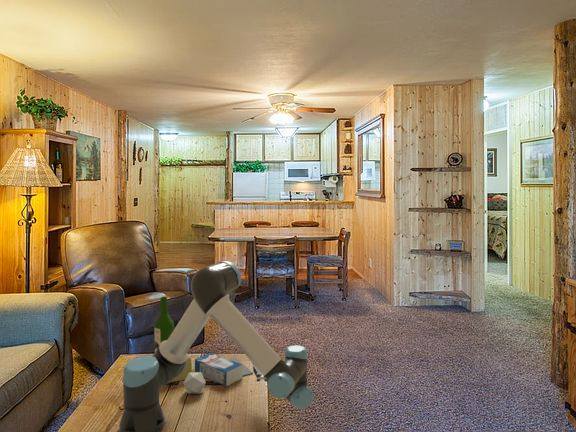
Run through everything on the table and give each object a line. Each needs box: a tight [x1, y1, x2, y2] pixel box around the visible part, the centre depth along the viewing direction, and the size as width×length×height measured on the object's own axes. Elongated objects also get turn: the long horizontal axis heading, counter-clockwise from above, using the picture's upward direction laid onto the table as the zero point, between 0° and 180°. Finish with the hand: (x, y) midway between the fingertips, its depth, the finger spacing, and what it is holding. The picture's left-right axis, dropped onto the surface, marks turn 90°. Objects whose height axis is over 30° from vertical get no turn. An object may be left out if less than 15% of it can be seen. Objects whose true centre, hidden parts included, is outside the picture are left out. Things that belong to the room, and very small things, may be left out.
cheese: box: [168, 354, 193, 384], centre depth 191 cm, size 10×11×10 cm
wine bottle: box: [153, 296, 175, 352], centre depth 202 cm, size 9×9×32 cm
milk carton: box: [194, 352, 243, 387], centre depth 192 cm, size 10×6×20 cm
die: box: [183, 371, 206, 395], centre depth 177 cm, size 8×9×10 cm
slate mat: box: [212, 357, 254, 384], centre depth 198 cm, size 18×20×1 cm
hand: (252, 359), depth 175 cm, fingers closed
